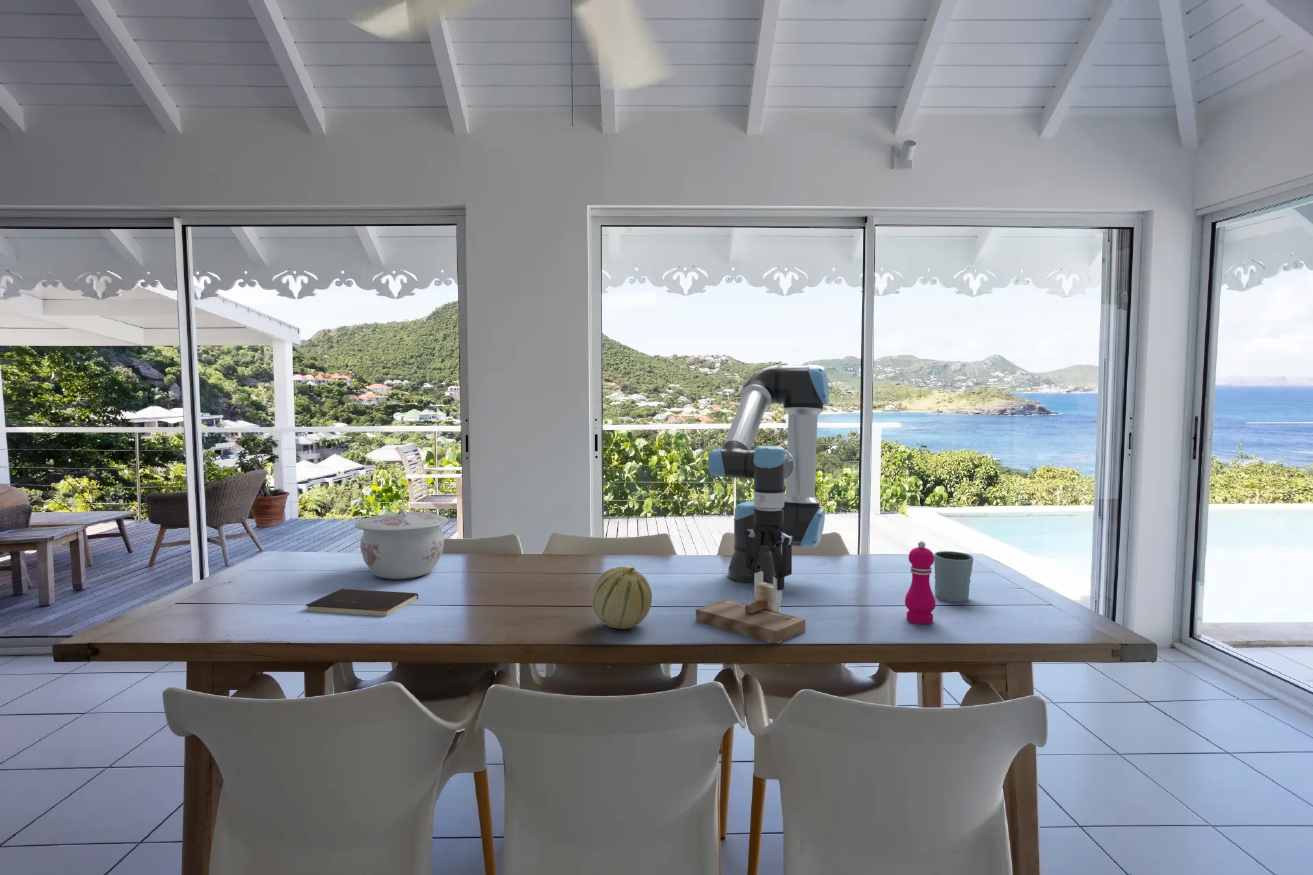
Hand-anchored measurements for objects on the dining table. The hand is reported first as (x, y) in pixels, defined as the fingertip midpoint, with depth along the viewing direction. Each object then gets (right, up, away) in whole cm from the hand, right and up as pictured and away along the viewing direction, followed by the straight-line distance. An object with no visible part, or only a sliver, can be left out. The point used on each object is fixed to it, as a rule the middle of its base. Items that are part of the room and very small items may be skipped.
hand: (767, 599), depth 188 cm
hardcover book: (-106, -5, +12) cm, 107 cm away
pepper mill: (+38, -5, -1) cm, 38 cm away
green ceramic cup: (+54, -4, +18) cm, 57 cm away
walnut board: (-5, -5, -6) cm, 9 cm away
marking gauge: (-2, -4, -1) cm, 5 cm away
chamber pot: (-106, -2, +44) cm, 115 cm away
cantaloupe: (-36, -5, -6) cm, 37 cm away
